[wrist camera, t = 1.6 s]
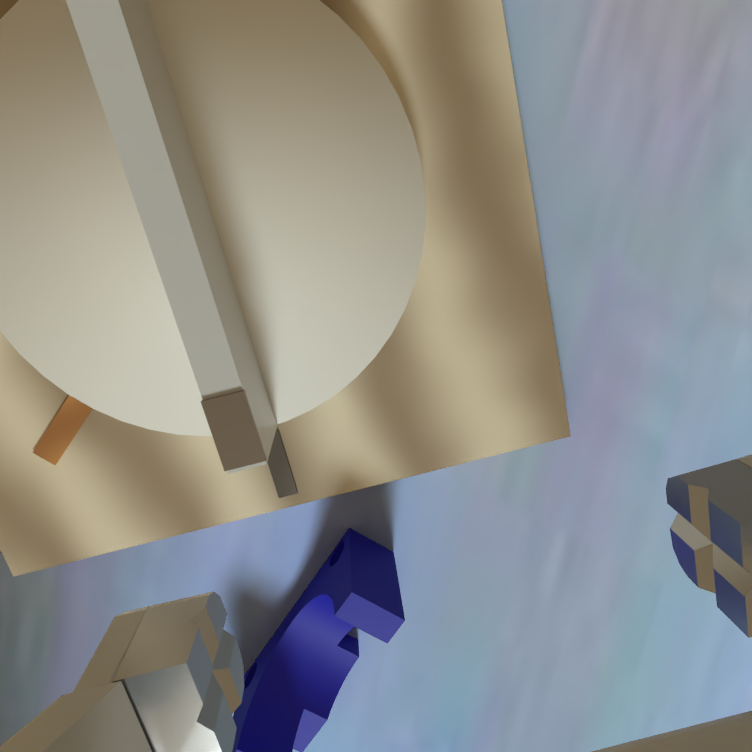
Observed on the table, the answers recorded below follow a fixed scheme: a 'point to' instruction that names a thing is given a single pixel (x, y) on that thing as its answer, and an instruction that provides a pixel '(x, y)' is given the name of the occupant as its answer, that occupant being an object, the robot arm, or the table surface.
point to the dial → (202, 209)
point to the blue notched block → (318, 647)
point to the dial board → (382, 375)
